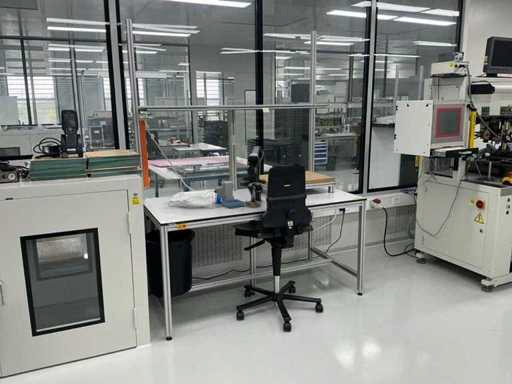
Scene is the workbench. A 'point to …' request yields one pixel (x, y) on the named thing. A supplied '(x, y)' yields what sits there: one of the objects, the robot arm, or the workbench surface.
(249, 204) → the hole block
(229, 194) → the circuit breaker
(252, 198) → the pin
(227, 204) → the tray
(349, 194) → the workbench surface
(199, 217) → the workbench surface
